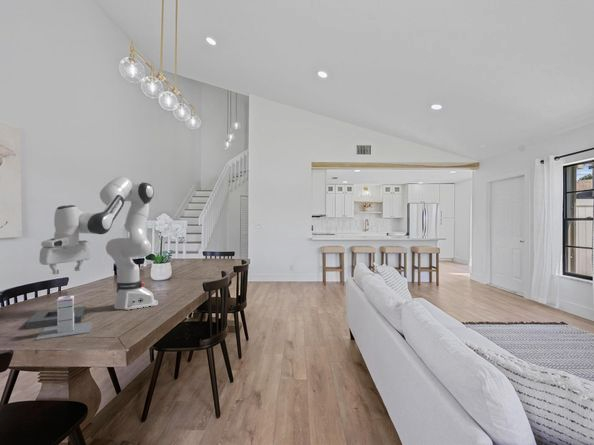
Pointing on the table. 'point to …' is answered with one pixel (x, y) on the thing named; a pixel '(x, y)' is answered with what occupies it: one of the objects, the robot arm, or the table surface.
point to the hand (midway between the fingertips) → (66, 272)
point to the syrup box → (65, 314)
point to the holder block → (52, 318)
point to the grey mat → (52, 332)
